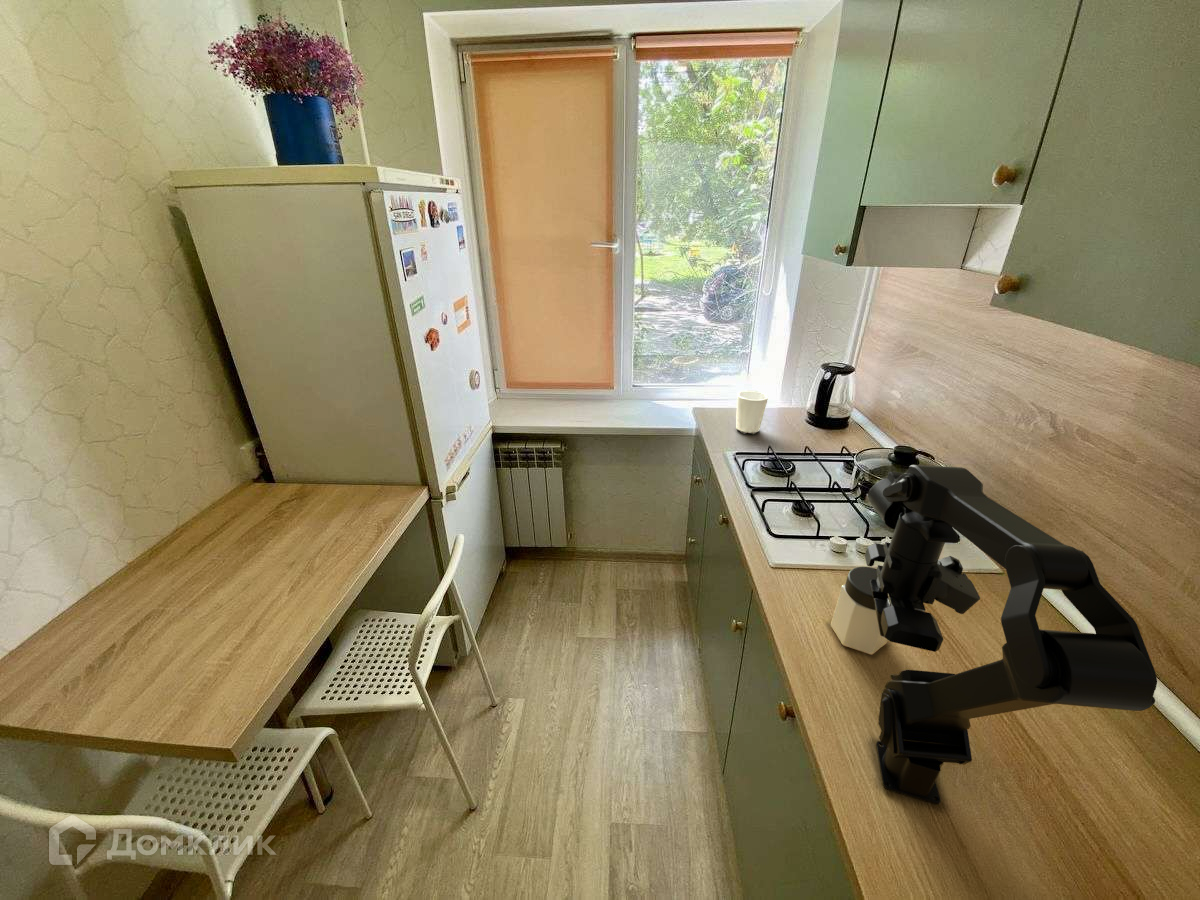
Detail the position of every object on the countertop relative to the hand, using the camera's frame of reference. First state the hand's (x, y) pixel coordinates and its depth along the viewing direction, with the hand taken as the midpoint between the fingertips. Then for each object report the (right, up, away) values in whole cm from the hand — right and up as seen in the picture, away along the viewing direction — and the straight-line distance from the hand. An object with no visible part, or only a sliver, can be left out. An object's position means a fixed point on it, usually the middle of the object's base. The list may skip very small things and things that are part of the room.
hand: (883, 635), depth 73 cm
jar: (+3, -5, +14) cm, 15 cm away
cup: (+8, +34, +94) cm, 100 cm away
